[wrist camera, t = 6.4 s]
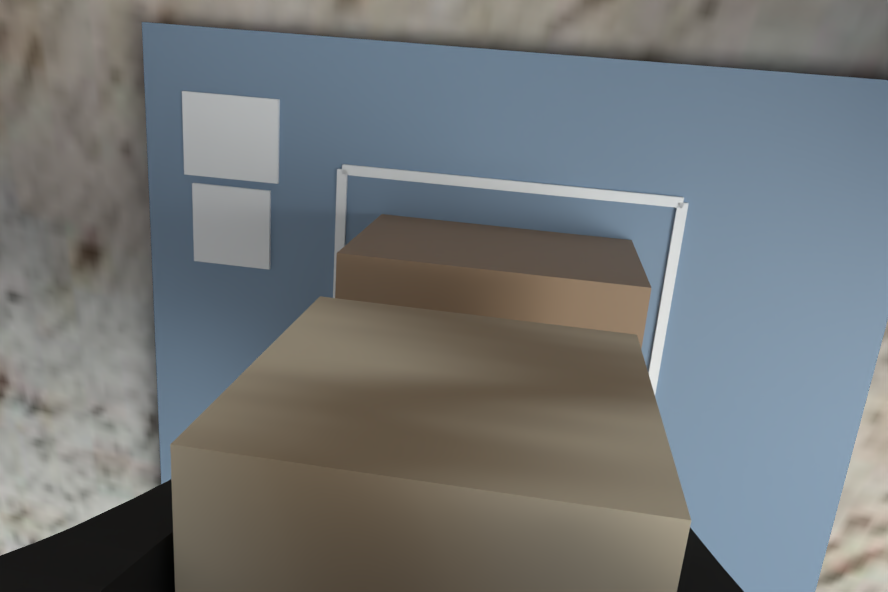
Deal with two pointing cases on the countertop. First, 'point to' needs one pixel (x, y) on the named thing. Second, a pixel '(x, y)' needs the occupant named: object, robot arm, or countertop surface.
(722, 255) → the blueprint board
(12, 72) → the countertop surface
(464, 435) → the maple block
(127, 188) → the countertop surface
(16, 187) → the countertop surface
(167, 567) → the robot arm
